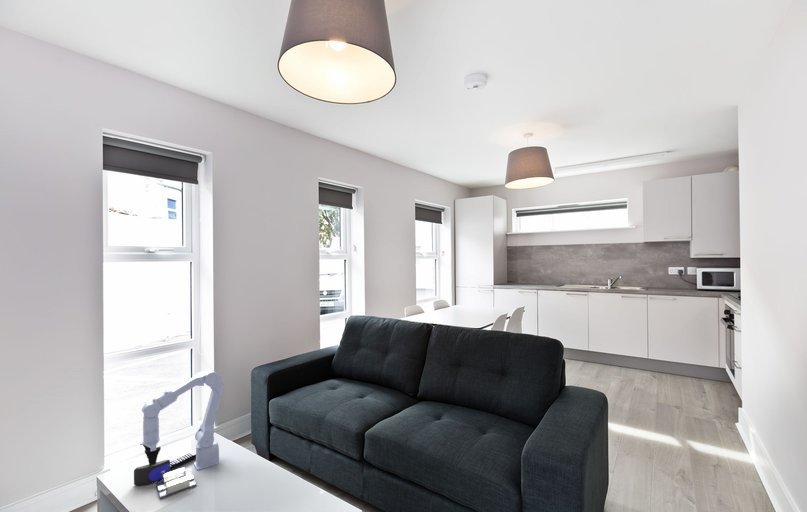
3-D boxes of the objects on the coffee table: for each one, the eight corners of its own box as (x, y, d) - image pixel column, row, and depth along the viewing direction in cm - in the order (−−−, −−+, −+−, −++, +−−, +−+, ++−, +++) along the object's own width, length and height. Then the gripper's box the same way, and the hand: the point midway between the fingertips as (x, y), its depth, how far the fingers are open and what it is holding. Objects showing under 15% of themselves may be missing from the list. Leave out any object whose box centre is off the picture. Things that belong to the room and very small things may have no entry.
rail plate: (190, 475, 168) (190, 464, 168) (196, 487, 159) (196, 476, 159) (156, 486, 159) (156, 475, 159) (160, 500, 150) (160, 488, 150)
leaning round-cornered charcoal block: (133, 489, 158) (133, 471, 158) (134, 485, 161) (133, 467, 161) (170, 479, 165) (170, 461, 165) (170, 475, 168) (170, 458, 168)
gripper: (138, 427, 166) (138, 457, 166) (141, 439, 155) (142, 471, 154) (157, 422, 170) (157, 452, 170) (161, 433, 159) (162, 465, 159)
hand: (151, 461), depth 163 cm, fingers open, 7 cm apart
